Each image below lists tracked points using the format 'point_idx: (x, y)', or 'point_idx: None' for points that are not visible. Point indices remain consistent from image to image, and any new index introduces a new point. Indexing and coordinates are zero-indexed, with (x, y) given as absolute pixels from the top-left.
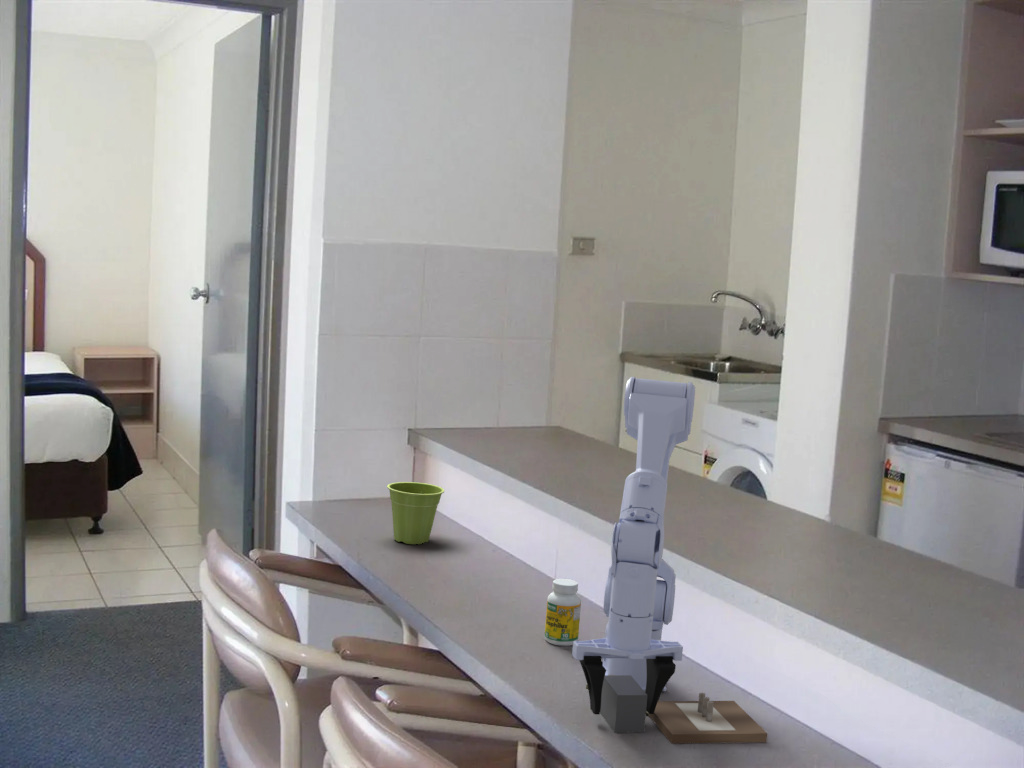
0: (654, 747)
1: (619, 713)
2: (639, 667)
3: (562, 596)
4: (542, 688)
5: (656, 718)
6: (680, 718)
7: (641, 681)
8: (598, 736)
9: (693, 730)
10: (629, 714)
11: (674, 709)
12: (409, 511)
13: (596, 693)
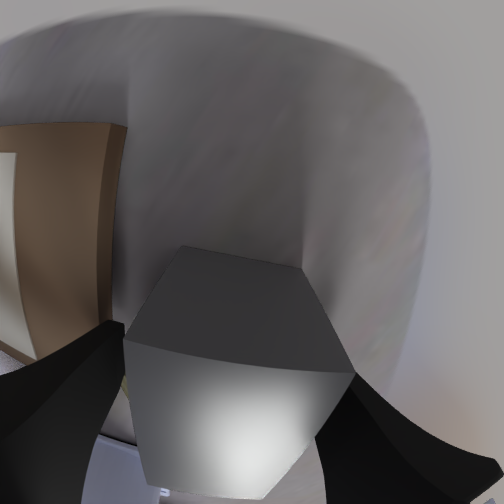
0: (213, 105)
1: (306, 304)
2: (100, 481)
3: None
4: (308, 472)
5: (102, 307)
6: (34, 267)
7: (101, 454)
8: (372, 253)
9: (29, 157)
10: (252, 292)
11: (40, 332)
12: None
13: (388, 411)
